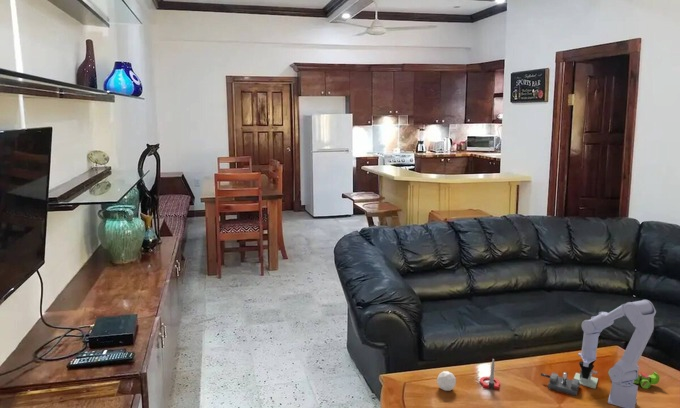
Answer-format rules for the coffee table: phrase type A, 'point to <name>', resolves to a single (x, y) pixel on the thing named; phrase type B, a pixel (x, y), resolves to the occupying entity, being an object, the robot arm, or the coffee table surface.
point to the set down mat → (591, 384)
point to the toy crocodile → (646, 379)
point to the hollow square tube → (588, 377)
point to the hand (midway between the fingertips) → (586, 375)
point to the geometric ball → (446, 380)
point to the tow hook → (492, 380)
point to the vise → (563, 383)
